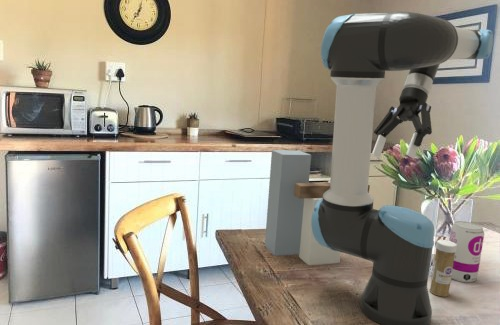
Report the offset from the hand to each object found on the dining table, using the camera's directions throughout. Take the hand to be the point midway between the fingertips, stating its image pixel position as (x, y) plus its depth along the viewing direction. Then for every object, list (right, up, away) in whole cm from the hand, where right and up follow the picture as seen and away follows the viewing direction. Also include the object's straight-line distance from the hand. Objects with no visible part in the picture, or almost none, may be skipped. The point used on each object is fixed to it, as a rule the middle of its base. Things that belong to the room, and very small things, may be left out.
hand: (392, 156), depth 124 cm
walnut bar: (-18, -11, -3) cm, 22 cm away
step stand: (-26, -29, +3) cm, 39 cm away
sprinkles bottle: (+6, -35, -17) cm, 39 cm away
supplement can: (+17, -34, -6) cm, 38 cm away
